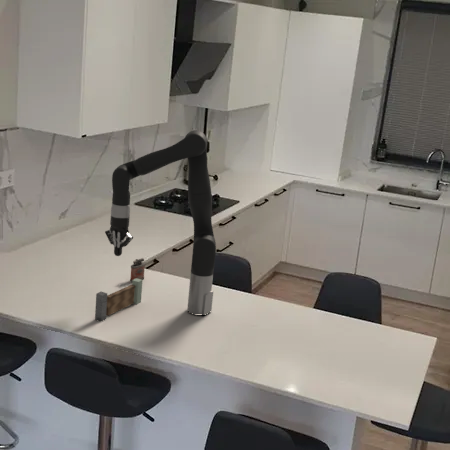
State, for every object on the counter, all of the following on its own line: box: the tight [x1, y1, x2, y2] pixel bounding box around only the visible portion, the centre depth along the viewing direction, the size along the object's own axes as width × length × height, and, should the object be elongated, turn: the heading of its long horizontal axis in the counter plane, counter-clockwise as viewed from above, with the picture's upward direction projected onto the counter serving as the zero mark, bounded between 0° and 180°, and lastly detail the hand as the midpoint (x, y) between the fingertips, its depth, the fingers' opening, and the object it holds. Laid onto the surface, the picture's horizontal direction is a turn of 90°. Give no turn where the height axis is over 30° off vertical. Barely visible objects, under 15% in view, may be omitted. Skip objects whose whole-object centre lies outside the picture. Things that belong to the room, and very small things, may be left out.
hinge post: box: [94, 291, 108, 322], centre depth 270 cm, size 3×3×11 cm
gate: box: [106, 284, 135, 317], centre depth 281 cm, size 17×2×8 cm, turn 151°
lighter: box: [129, 257, 146, 283], centre depth 316 cm, size 8×3×10 cm, turn 143°
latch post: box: [131, 278, 143, 305], centre depth 291 cm, size 3×3×10 cm
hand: (117, 255), depth 283 cm, fingers closed
